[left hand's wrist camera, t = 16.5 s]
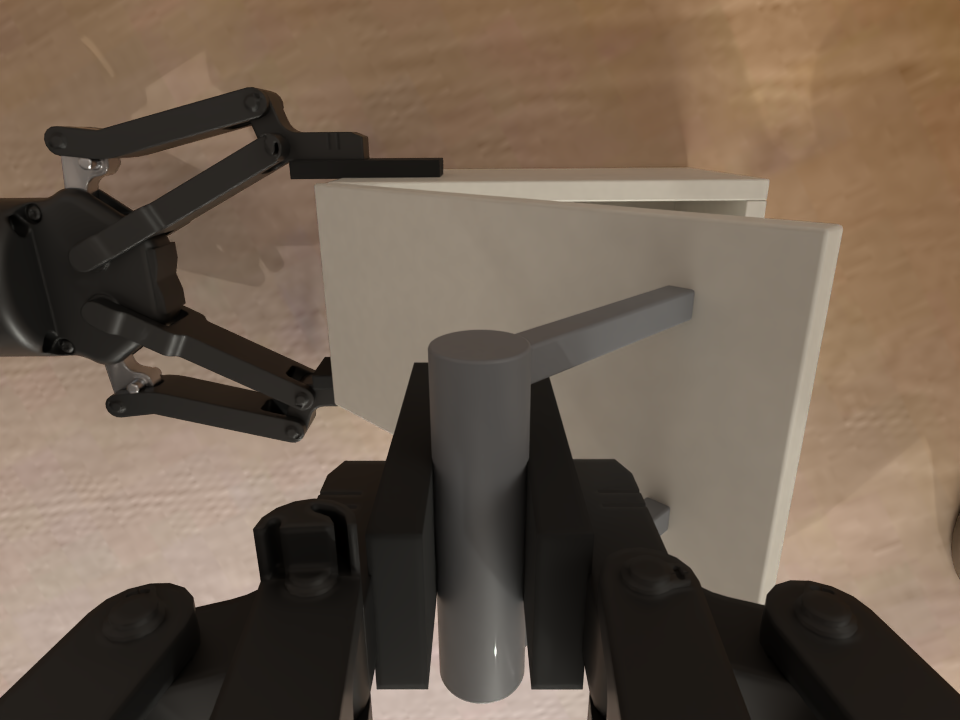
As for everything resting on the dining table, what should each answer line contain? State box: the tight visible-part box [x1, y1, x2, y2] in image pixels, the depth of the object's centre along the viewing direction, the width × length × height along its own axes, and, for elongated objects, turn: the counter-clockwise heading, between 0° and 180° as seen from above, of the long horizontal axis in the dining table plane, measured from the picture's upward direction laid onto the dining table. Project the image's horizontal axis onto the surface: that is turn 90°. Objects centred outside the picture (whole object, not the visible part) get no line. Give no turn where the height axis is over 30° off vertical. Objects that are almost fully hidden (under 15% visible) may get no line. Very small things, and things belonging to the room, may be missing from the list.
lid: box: [314, 183, 843, 704], centre depth 17 cm, size 18×9×8 cm
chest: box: [328, 167, 769, 218], centre depth 31 cm, size 18×9×10 cm, turn 90°
